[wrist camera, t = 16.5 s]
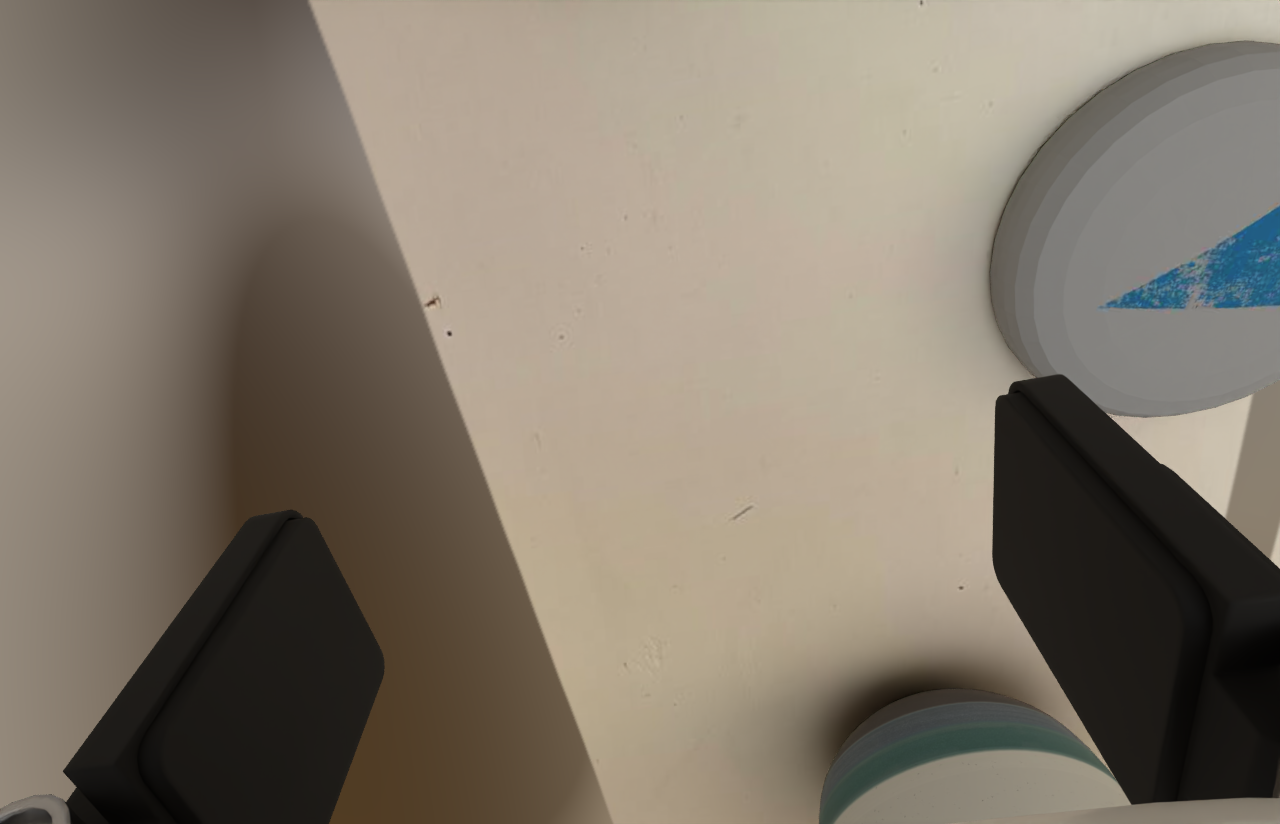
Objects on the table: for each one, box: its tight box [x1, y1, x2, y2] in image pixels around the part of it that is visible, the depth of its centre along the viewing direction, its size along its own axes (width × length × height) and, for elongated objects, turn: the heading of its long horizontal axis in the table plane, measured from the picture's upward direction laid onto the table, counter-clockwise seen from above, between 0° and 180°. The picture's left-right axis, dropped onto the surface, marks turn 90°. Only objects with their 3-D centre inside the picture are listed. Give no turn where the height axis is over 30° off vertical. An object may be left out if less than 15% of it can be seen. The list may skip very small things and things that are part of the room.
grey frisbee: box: [990, 41, 1280, 418], centre depth 37 cm, size 18×18×5 cm
